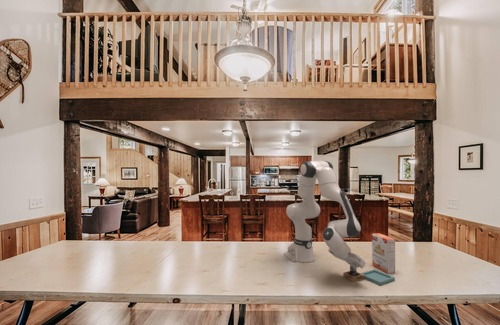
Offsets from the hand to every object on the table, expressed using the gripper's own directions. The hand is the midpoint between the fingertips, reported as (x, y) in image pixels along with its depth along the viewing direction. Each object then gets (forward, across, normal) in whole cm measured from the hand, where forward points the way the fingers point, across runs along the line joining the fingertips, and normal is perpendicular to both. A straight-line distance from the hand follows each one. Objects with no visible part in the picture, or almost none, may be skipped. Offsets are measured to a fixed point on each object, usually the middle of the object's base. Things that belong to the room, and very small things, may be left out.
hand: (354, 265), depth 150 cm
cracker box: (+24, 0, -13) cm, 27 cm away
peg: (+4, 0, +5) cm, 6 cm away
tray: (+12, -7, -2) cm, 15 cm away
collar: (+5, 0, +6) cm, 7 cm away
